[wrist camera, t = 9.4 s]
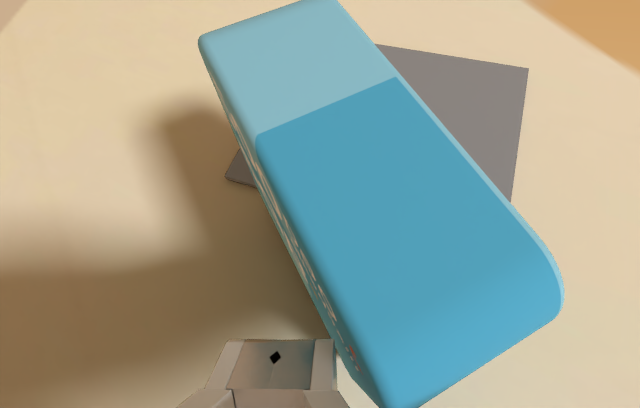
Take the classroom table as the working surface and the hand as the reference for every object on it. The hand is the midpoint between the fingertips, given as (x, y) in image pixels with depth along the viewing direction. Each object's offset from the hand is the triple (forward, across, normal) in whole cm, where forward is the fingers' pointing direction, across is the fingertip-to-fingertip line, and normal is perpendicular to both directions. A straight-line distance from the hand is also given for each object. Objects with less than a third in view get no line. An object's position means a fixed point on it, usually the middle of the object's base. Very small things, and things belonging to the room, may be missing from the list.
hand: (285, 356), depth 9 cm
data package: (+10, +1, -2) cm, 10 cm away
